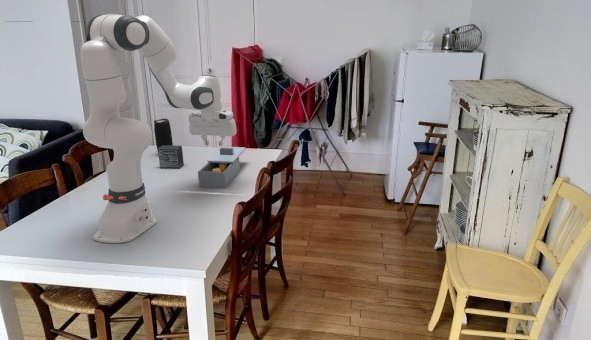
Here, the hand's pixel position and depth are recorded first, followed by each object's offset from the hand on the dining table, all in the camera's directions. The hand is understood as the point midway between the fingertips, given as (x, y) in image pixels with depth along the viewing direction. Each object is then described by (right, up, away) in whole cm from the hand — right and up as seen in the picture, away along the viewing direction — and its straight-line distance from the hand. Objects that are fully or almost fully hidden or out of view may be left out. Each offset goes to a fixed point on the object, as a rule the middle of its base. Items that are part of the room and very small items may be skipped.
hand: (214, 145), depth 178 cm
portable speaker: (-36, -3, +49) cm, 61 cm away
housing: (+1, -16, +11) cm, 19 cm away
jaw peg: (0, -16, +6) cm, 17 cm away
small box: (-27, -9, +30) cm, 42 cm away
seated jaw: (+2, -13, +14) cm, 20 cm away
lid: (+3, -4, +19) cm, 19 cm away
